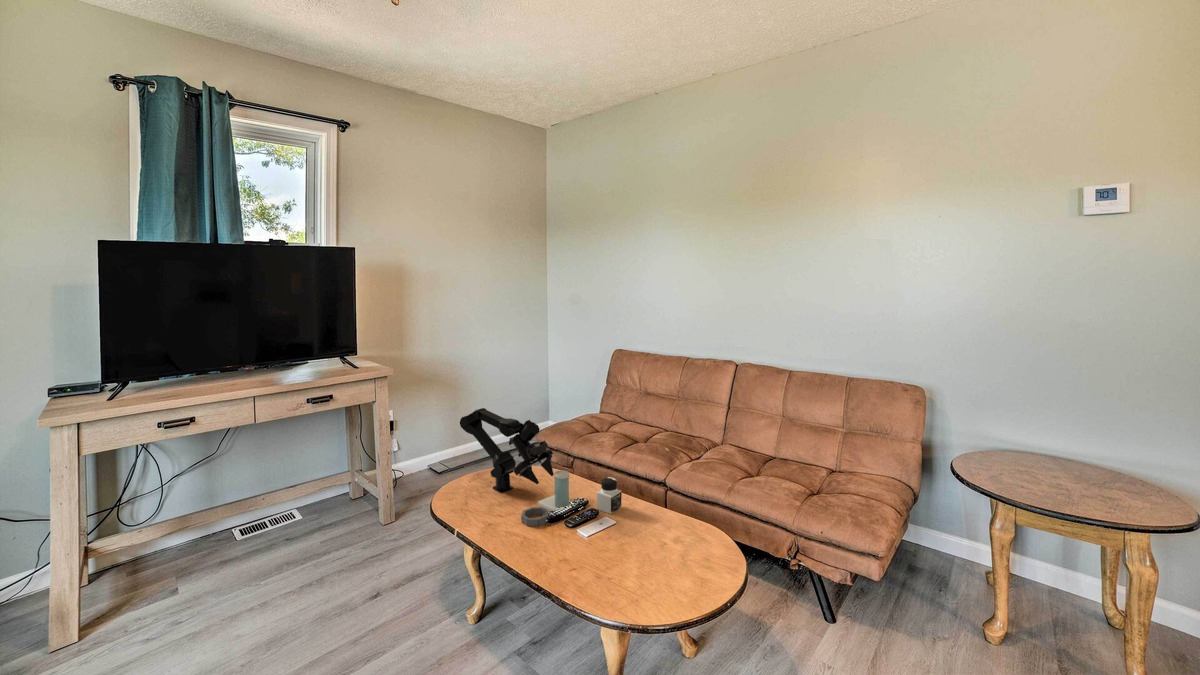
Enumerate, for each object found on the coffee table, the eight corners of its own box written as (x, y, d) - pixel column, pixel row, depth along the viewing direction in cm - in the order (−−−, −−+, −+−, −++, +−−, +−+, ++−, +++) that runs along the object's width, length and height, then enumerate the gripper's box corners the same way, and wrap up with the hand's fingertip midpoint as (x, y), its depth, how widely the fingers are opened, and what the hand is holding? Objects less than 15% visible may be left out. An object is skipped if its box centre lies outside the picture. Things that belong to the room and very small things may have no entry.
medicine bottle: (611, 514, 185) (611, 484, 184) (596, 509, 189) (596, 480, 188) (621, 507, 191) (622, 478, 189) (607, 502, 195) (607, 474, 194)
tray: (537, 504, 193) (537, 501, 193) (557, 496, 200) (557, 493, 200) (563, 518, 182) (563, 515, 182) (583, 510, 189) (583, 507, 189)
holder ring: (517, 519, 182) (516, 512, 181) (537, 510, 188) (537, 504, 188) (532, 528, 175) (532, 522, 175) (553, 519, 181) (552, 513, 181)
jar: (552, 507, 189) (551, 474, 187) (558, 500, 194) (558, 469, 192) (565, 509, 187) (564, 477, 185) (571, 503, 192) (571, 471, 190)
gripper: (518, 443, 187) (541, 477, 182) (549, 430, 202) (571, 461, 198) (504, 458, 192) (525, 492, 187) (535, 444, 207) (556, 475, 203)
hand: (545, 479), depth 194 cm, fingers open, 9 cm apart
